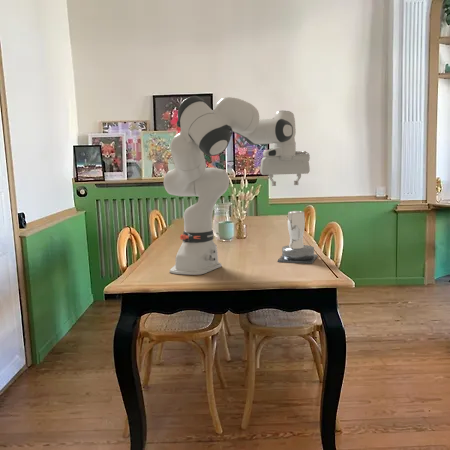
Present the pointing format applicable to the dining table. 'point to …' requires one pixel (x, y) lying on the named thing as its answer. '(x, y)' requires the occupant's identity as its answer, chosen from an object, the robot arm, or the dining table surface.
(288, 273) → the dining table surface
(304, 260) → the duct stub
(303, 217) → the pale grey rectangular box
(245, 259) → the dining table surface
